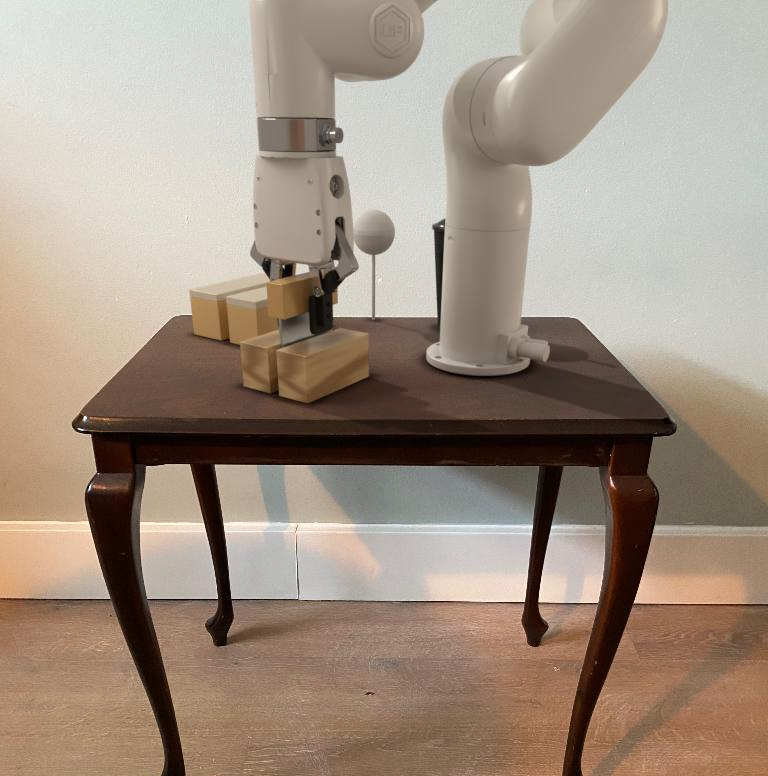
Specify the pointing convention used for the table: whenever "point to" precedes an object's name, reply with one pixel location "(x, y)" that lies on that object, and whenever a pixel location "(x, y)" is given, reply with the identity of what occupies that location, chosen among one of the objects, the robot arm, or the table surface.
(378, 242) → the lollipop
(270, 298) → the knife
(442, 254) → the drinking cup
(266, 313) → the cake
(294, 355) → the split wooden block
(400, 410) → the table surface
